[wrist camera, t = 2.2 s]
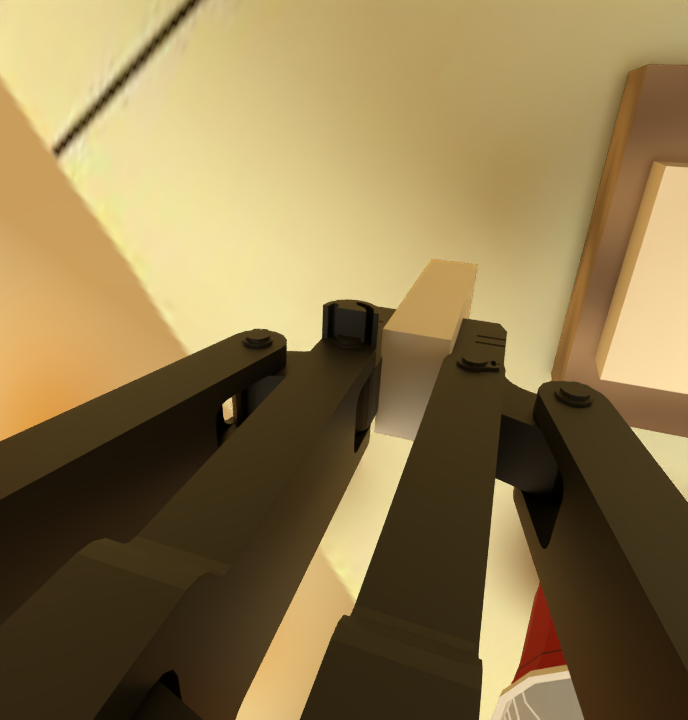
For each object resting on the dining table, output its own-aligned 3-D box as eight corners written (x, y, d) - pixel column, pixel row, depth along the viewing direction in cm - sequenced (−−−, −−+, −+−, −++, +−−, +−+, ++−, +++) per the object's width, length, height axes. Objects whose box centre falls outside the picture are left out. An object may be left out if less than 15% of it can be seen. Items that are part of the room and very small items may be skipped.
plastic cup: (605, 456, 28) (649, 655, 18) (743, 581, 28) (862, 845, 18) (465, 541, 34) (437, 728, 23) (583, 643, 34) (605, 871, 24)
